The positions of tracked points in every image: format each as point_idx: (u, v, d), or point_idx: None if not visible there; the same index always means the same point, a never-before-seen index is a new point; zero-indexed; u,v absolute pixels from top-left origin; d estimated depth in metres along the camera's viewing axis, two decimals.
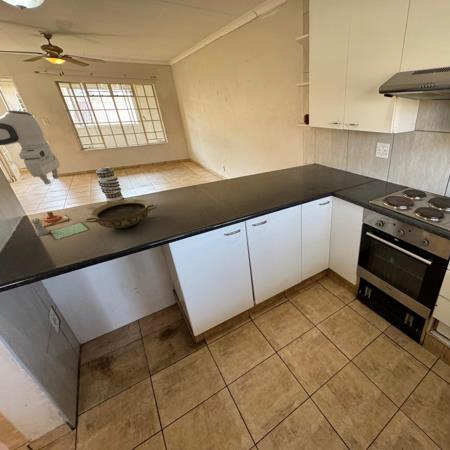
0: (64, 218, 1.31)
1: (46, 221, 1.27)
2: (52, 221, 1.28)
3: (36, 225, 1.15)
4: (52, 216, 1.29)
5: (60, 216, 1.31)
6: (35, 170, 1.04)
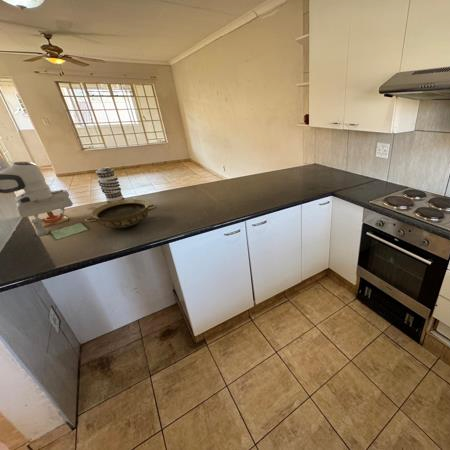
0: (64, 218, 1.31)
1: (46, 221, 1.27)
2: (52, 221, 1.28)
3: (36, 225, 1.15)
4: (52, 216, 1.29)
5: (60, 216, 1.31)
6: None
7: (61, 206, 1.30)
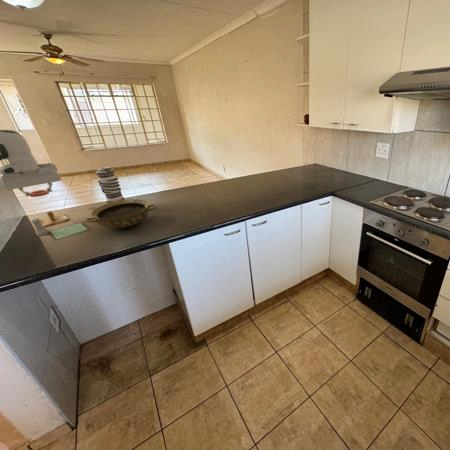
0: (64, 218, 1.31)
1: (32, 195, 1.20)
2: (38, 195, 1.21)
3: (36, 225, 1.15)
4: (52, 216, 1.29)
5: (47, 191, 1.24)
6: (2, 184, 1.12)
7: (48, 180, 1.23)
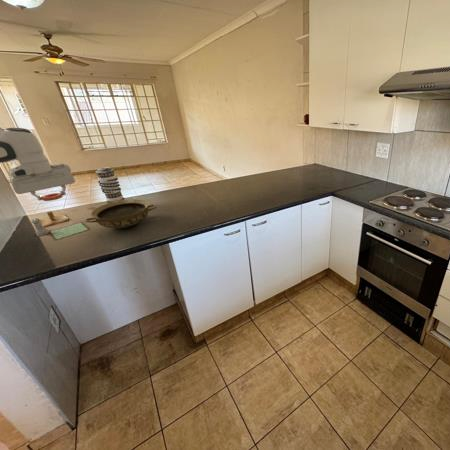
0: (64, 218, 1.31)
1: (45, 199, 1.10)
2: (52, 199, 1.12)
3: (36, 225, 1.15)
4: (52, 216, 1.29)
5: (61, 194, 1.14)
6: None
7: (62, 183, 1.13)
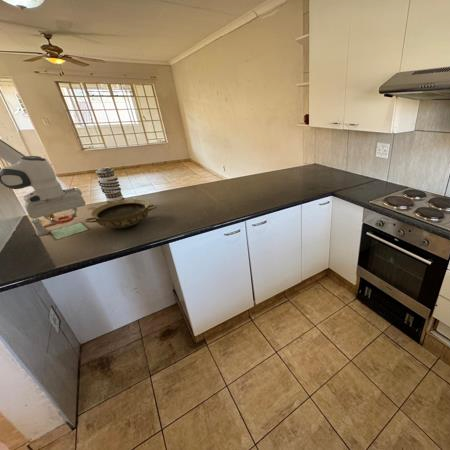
0: None
1: (57, 222, 1.15)
2: (64, 222, 1.16)
3: (36, 225, 1.15)
4: (52, 216, 1.29)
5: (72, 217, 1.19)
6: (27, 212, 1.08)
7: (73, 206, 1.18)
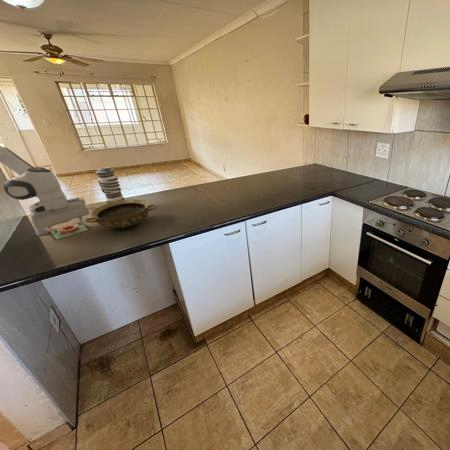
0: None
1: (62, 232, 1.18)
2: (69, 232, 1.19)
3: None
4: None
5: (77, 226, 1.22)
6: (32, 222, 1.10)
7: (77, 215, 1.20)
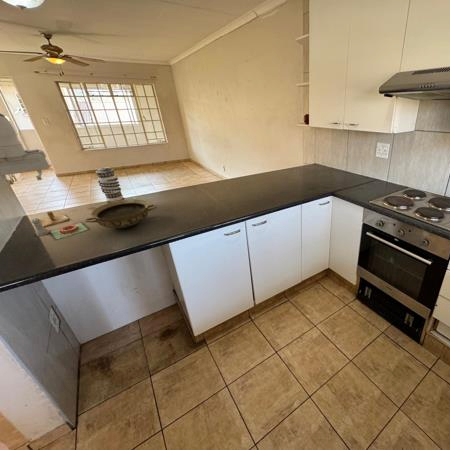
0: (64, 218, 1.31)
1: (62, 232, 1.18)
2: (69, 232, 1.19)
3: (36, 225, 1.15)
4: (52, 216, 1.29)
5: (77, 226, 1.22)
6: None
7: (36, 168, 1.15)
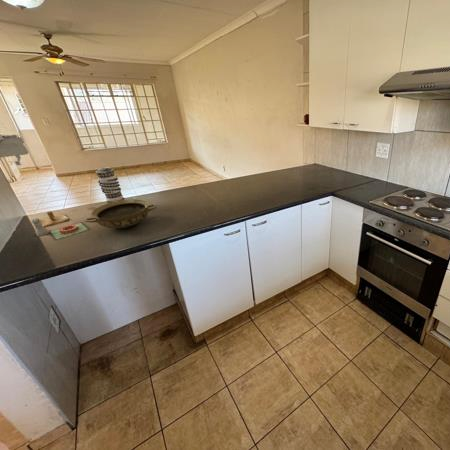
0: (64, 218, 1.31)
1: (62, 232, 1.18)
2: (69, 232, 1.19)
3: (36, 225, 1.15)
4: (52, 216, 1.29)
5: (77, 226, 1.22)
6: None
7: (14, 153, 1.18)
